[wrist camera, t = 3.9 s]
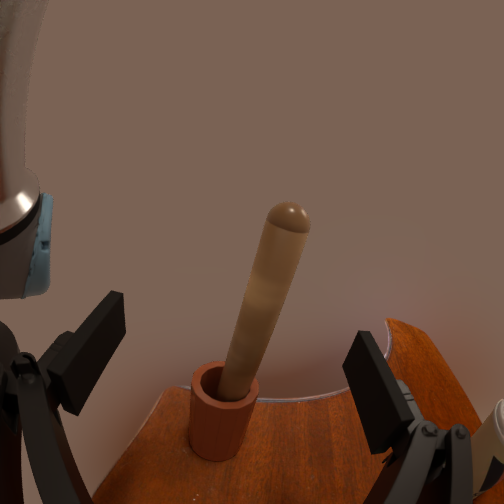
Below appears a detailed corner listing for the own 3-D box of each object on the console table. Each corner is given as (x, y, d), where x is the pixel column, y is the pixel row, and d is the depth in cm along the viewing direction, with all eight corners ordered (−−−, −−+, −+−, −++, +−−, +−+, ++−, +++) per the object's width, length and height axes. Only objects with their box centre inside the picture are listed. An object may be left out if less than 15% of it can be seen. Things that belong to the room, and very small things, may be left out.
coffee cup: (437, 514, 13) (515, 457, 9) (430, 456, 21) (488, 392, 17) (487, 501, 11) (555, 442, 7) (476, 452, 20) (529, 392, 16)
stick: (202, 443, 22) (273, 202, 13) (205, 425, 25) (271, 192, 15) (226, 447, 23) (320, 215, 13) (228, 429, 25) (311, 203, 16)
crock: (185, 457, 21) (186, 402, 18) (193, 417, 26) (197, 355, 23) (239, 464, 21) (259, 413, 18) (241, 424, 27) (258, 365, 23)
